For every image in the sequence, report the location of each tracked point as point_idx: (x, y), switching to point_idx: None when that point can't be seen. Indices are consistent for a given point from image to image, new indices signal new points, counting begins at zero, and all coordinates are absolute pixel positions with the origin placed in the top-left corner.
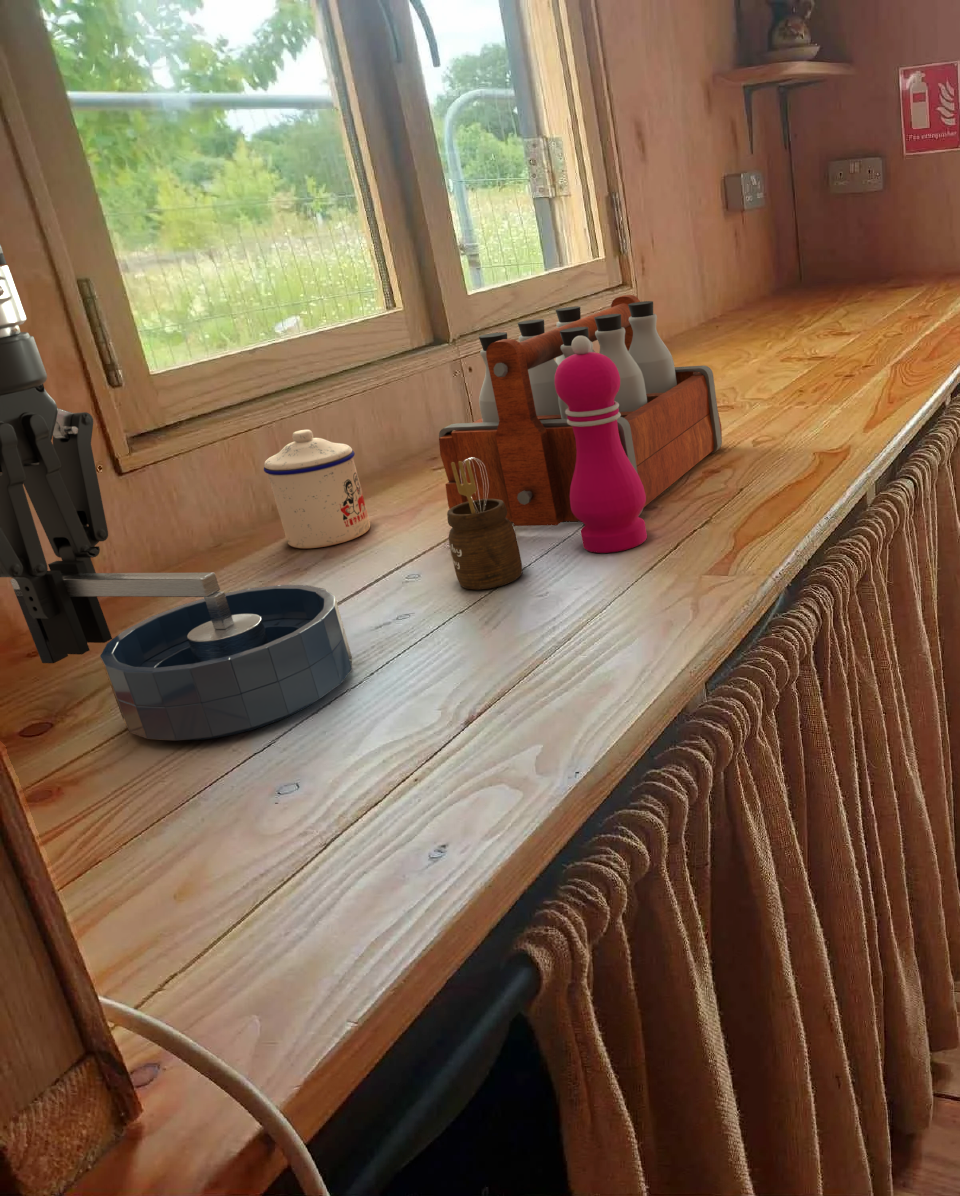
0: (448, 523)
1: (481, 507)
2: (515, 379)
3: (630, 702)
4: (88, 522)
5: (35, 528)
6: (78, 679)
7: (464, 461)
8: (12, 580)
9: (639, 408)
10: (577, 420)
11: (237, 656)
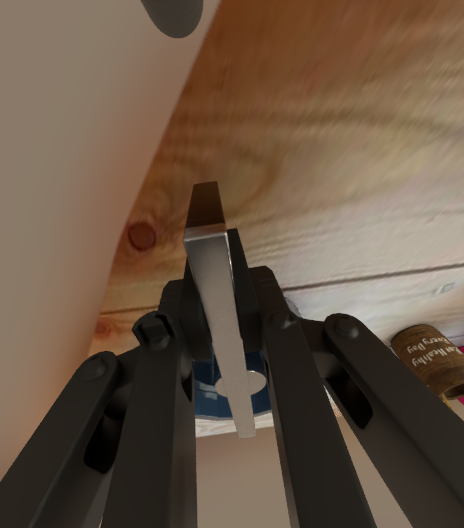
0: (446, 375)
1: None
2: None
3: (258, 425)
4: (337, 399)
5: (195, 474)
6: (234, 159)
7: None
8: (184, 246)
9: None
10: None
11: (200, 418)
